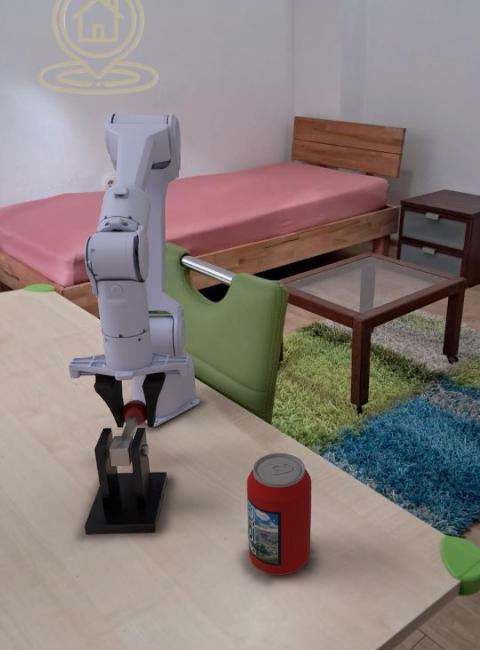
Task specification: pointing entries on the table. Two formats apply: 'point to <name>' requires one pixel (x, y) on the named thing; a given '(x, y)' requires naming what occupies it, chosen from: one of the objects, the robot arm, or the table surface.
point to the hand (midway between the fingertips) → (136, 423)
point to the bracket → (126, 490)
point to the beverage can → (279, 513)
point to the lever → (127, 433)
